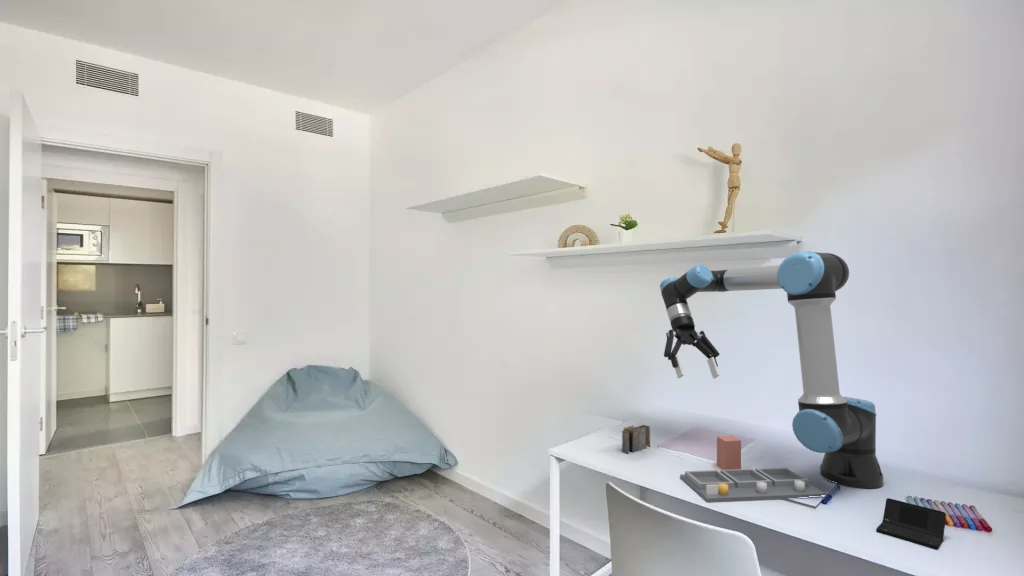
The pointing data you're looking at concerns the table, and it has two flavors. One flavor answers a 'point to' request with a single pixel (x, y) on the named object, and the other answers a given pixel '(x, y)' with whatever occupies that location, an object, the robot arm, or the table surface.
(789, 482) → the grey compartment tray
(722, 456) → the salmon pink square prism
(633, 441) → the dark grey upright slab
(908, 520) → the handheld gaming console
